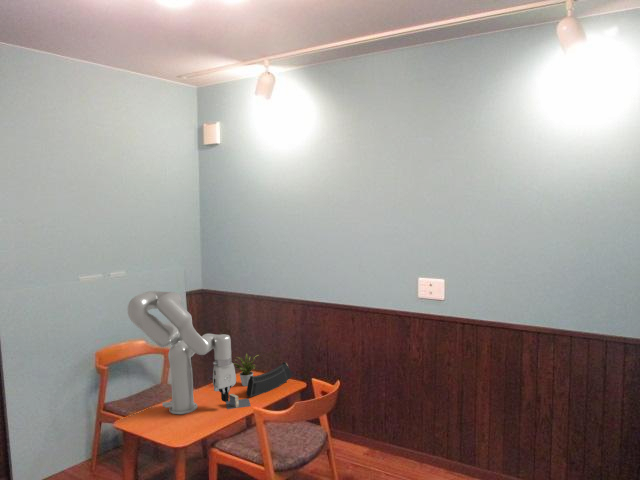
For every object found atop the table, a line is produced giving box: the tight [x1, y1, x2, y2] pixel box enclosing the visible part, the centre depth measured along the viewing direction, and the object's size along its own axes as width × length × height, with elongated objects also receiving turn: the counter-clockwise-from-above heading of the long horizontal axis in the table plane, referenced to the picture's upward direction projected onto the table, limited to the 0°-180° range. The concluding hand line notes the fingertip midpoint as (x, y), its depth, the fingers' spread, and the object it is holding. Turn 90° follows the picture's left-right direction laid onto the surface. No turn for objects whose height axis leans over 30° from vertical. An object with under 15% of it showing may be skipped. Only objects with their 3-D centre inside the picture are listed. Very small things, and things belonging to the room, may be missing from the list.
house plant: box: [232, 353, 259, 387], centre depth 259 cm, size 14×14×16 cm
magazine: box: [245, 361, 293, 398], centre depth 250 cm, size 17×3×30 cm
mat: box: [225, 397, 252, 410], centre depth 233 cm, size 11×10×1 cm
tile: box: [228, 393, 239, 407], centre depth 230 cm, size 2×5×5 cm, turn 45°
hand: (225, 400), depth 227 cm, fingers closed
